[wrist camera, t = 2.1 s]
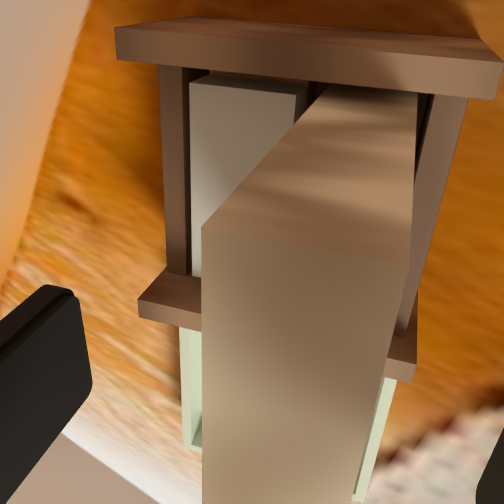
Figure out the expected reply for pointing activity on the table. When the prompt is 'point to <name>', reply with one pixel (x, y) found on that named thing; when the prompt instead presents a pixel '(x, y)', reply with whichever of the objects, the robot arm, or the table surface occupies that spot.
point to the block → (305, 301)
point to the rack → (324, 72)
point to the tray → (193, 409)
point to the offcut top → (233, 137)
